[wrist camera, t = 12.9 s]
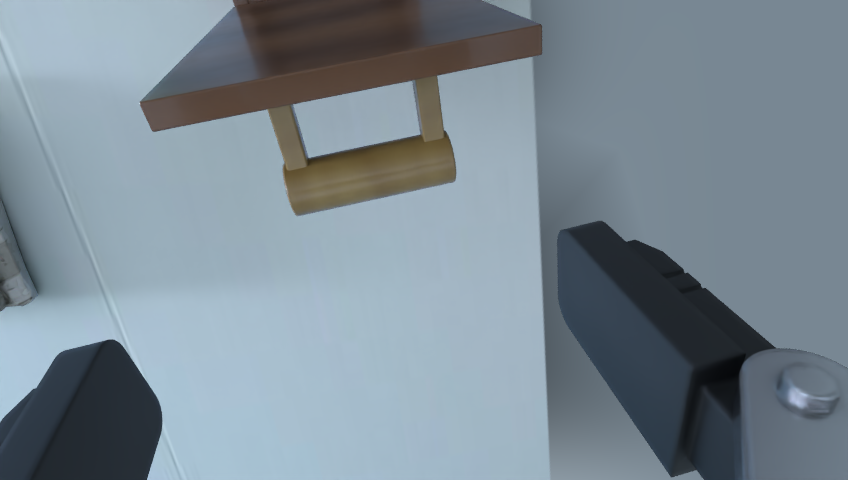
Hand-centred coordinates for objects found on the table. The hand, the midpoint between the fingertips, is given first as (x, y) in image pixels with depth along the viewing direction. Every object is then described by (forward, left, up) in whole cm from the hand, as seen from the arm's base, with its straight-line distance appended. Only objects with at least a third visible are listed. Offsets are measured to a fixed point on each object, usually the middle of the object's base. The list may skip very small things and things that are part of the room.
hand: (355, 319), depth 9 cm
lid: (-4, +1, -15) cm, 16 cm away
